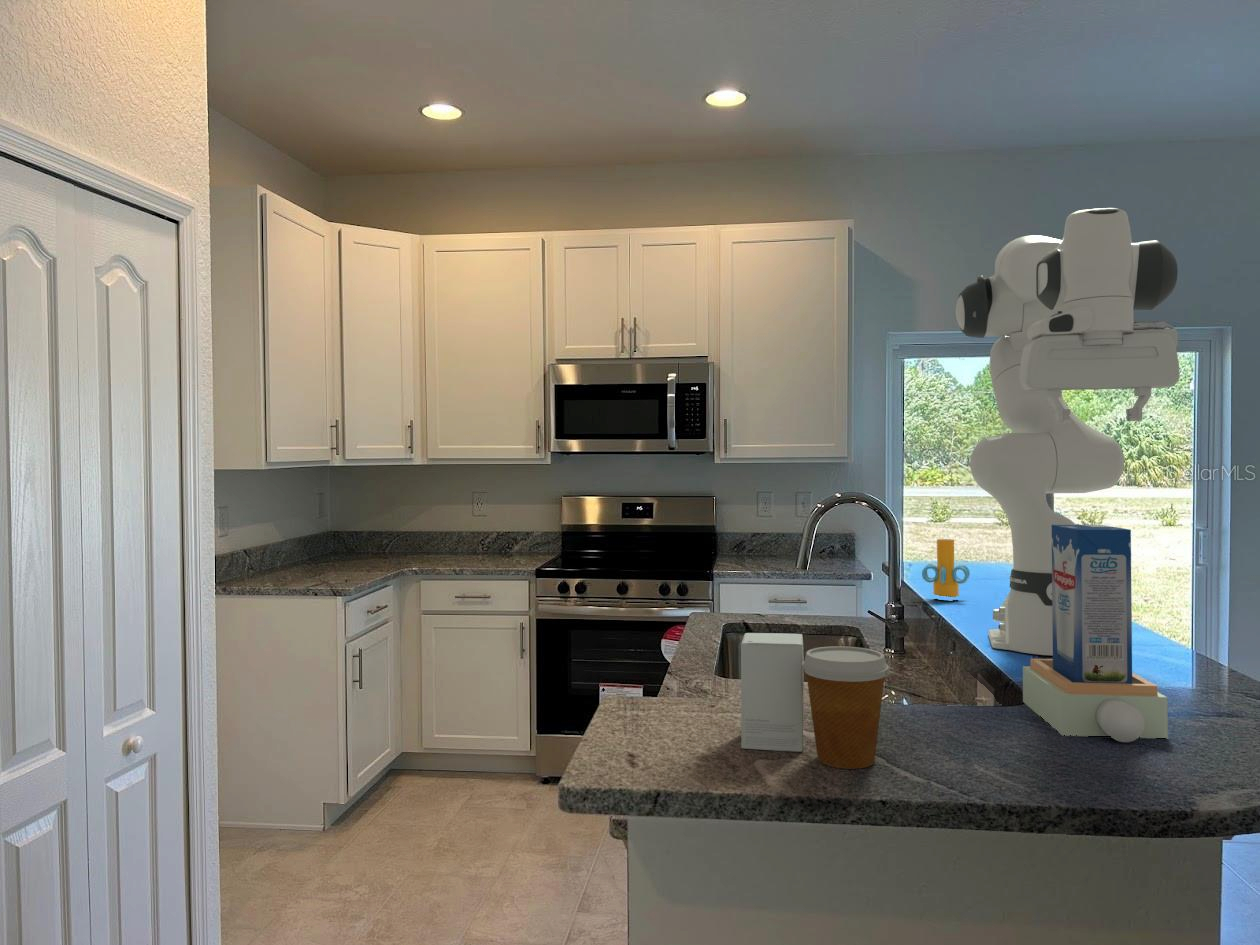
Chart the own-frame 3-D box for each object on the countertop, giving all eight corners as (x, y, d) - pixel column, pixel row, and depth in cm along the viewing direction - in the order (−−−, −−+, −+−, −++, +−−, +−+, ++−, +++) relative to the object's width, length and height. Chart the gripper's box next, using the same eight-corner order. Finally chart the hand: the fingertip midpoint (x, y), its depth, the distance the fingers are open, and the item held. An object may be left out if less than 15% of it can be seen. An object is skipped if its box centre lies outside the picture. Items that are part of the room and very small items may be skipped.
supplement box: (804, 753, 103) (803, 644, 103) (739, 749, 105) (738, 642, 105) (804, 734, 110) (803, 632, 110) (744, 731, 112) (743, 631, 112)
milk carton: (1052, 671, 121) (1051, 524, 121) (1101, 672, 120) (1100, 524, 120) (1079, 690, 111) (1077, 529, 111) (1132, 691, 110) (1131, 529, 110)
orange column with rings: (931, 603, 215) (930, 541, 215) (913, 597, 226) (913, 538, 226) (979, 602, 216) (979, 540, 216) (960, 596, 227) (959, 537, 227)
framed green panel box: (1023, 701, 124) (1022, 657, 124) (1114, 704, 123) (1113, 659, 123) (1070, 743, 106) (1070, 691, 106) (1179, 746, 104) (1179, 693, 104)
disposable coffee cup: (786, 761, 100) (785, 654, 100) (830, 741, 107) (829, 642, 107) (864, 780, 94) (862, 667, 94) (904, 758, 101) (903, 652, 101)
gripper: (1166, 324, 126) (1167, 421, 126) (1015, 328, 129) (1016, 424, 129) (1188, 316, 120) (1189, 419, 120) (1029, 321, 123) (1029, 421, 123)
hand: (1098, 421), depth 125 cm, fingers open, 8 cm apart
